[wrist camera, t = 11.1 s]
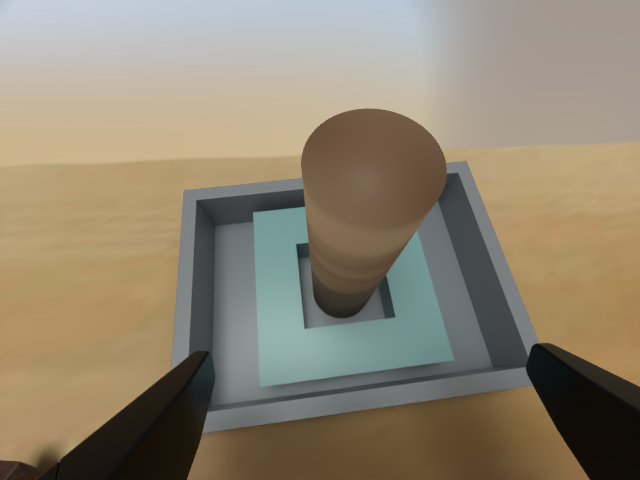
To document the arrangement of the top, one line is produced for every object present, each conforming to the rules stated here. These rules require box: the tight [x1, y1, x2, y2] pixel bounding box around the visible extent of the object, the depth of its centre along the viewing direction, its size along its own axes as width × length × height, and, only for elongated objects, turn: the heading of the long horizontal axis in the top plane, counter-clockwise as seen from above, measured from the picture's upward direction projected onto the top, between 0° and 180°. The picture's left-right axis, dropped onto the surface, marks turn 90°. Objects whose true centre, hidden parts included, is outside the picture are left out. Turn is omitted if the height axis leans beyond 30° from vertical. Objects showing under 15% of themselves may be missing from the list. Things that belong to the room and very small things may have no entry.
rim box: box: [171, 161, 539, 433], centre depth 18 cm, size 13×18×4 cm
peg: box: [301, 109, 447, 318], centre depth 13 cm, size 4×4×13 cm
